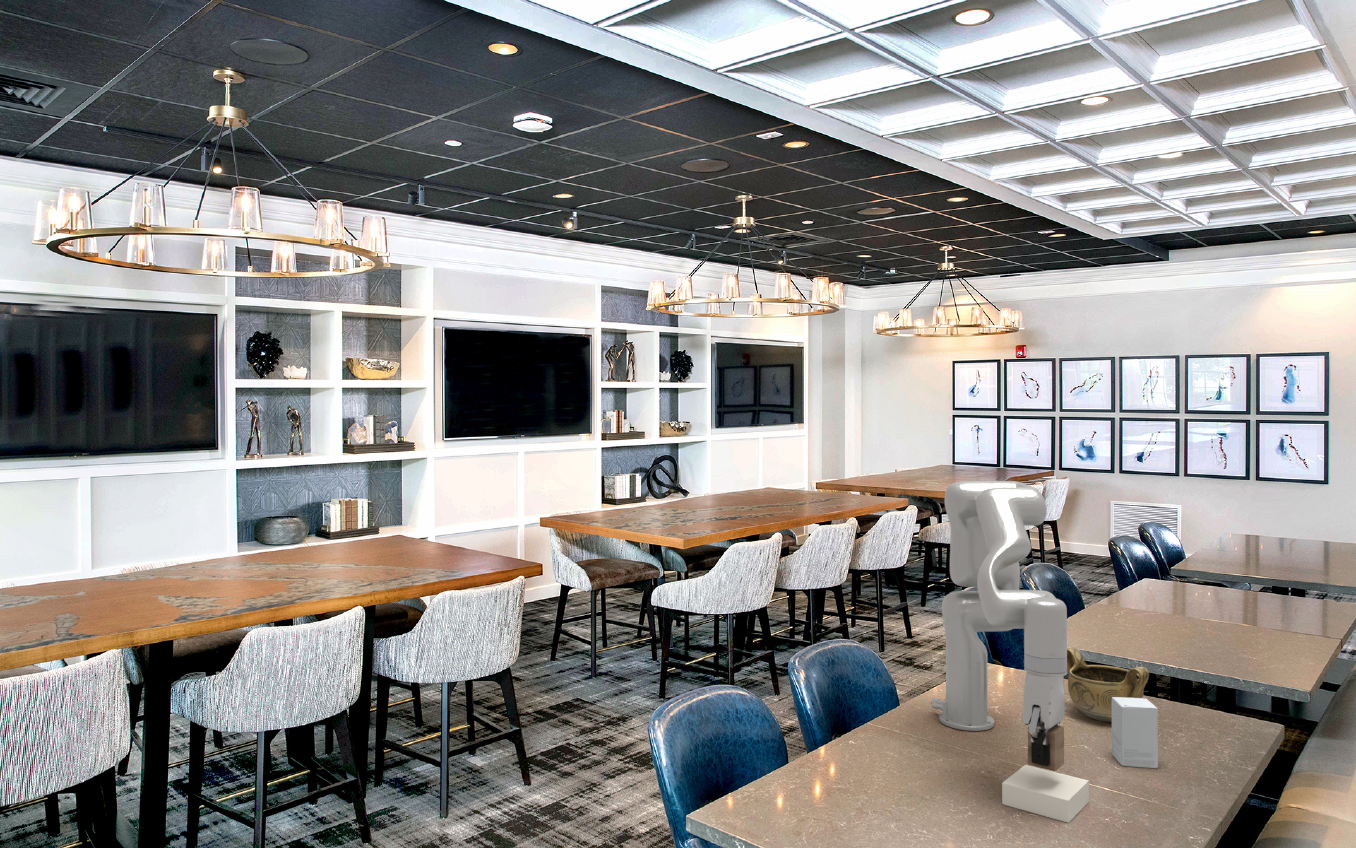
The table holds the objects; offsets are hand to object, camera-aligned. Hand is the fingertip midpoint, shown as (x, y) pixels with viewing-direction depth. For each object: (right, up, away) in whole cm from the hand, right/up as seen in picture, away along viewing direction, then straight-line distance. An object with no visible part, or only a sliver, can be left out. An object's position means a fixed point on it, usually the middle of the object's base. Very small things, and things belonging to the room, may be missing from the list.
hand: (1045, 759), depth 167 cm
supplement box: (+28, -9, +21) cm, 36 cm away
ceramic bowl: (+35, -9, +49) cm, 61 cm away
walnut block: (0, -1, 0) cm, 1 cm away
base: (0, -8, 0) cm, 8 cm away
